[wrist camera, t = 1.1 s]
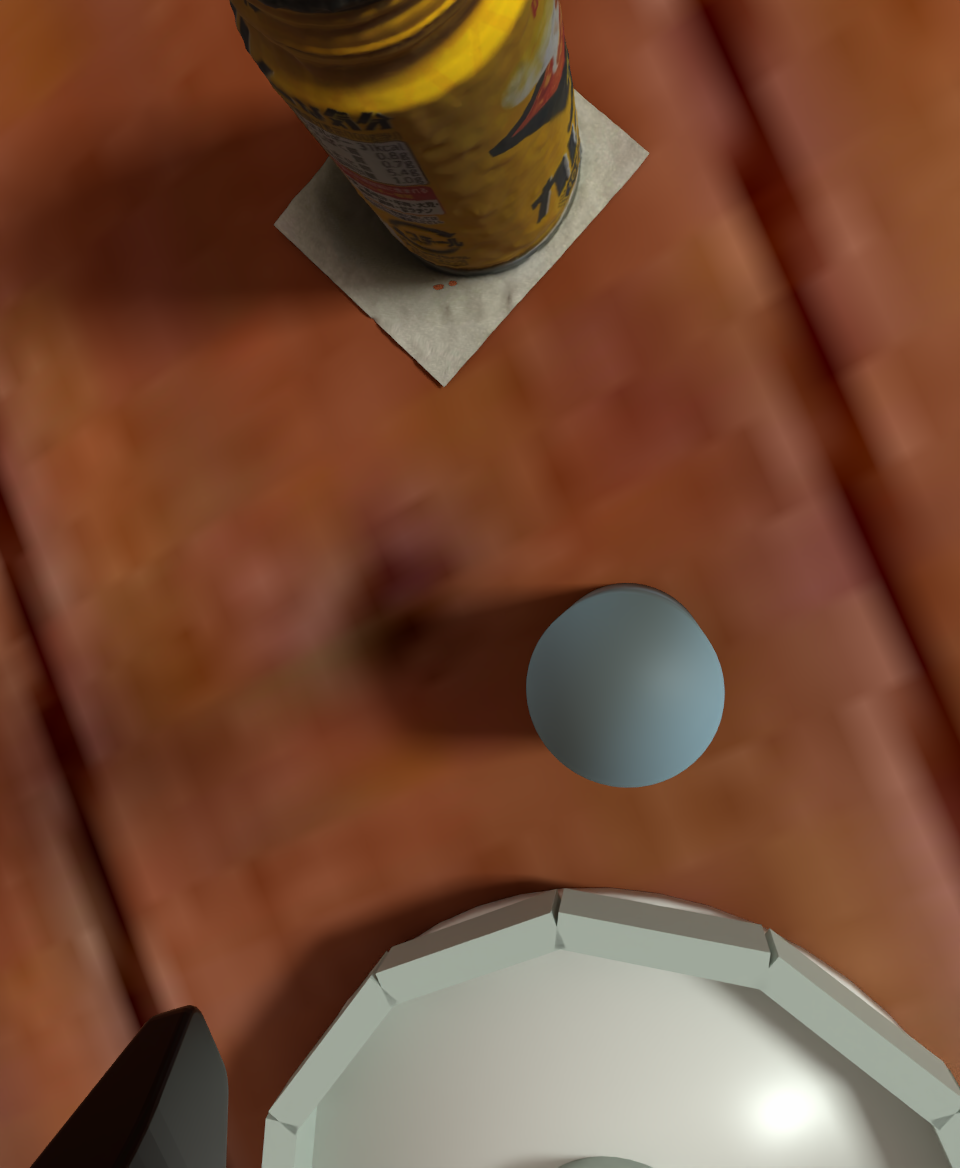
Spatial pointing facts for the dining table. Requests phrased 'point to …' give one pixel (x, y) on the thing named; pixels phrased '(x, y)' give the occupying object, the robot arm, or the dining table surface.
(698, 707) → the blue-grey short cylinder
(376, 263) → the condiment
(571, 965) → the tray
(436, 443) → the dining table surface
